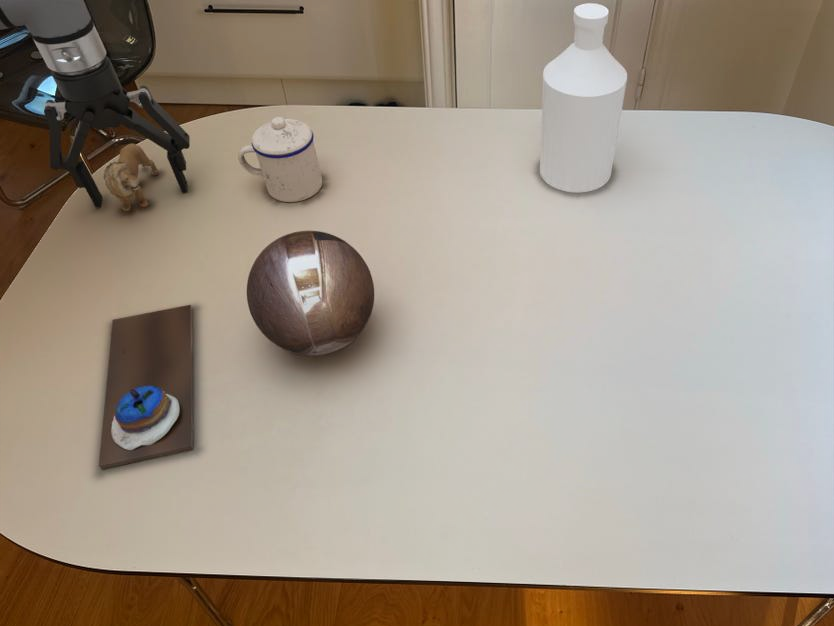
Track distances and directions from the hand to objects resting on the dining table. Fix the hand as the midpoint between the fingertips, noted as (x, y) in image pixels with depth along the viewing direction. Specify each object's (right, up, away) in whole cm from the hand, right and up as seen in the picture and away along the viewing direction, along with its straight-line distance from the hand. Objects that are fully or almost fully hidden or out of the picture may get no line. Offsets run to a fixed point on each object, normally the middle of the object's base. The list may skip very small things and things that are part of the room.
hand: (142, 194), depth 110 cm
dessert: (+14, -33, -28) cm, 46 cm away
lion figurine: (0, 0, 0) cm, 0 cm away
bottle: (+68, +4, +2) cm, 68 cm away
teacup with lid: (+22, +1, +1) cm, 22 cm away
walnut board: (+12, -29, -24) cm, 39 cm away
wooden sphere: (+33, -23, -19) cm, 44 cm away
